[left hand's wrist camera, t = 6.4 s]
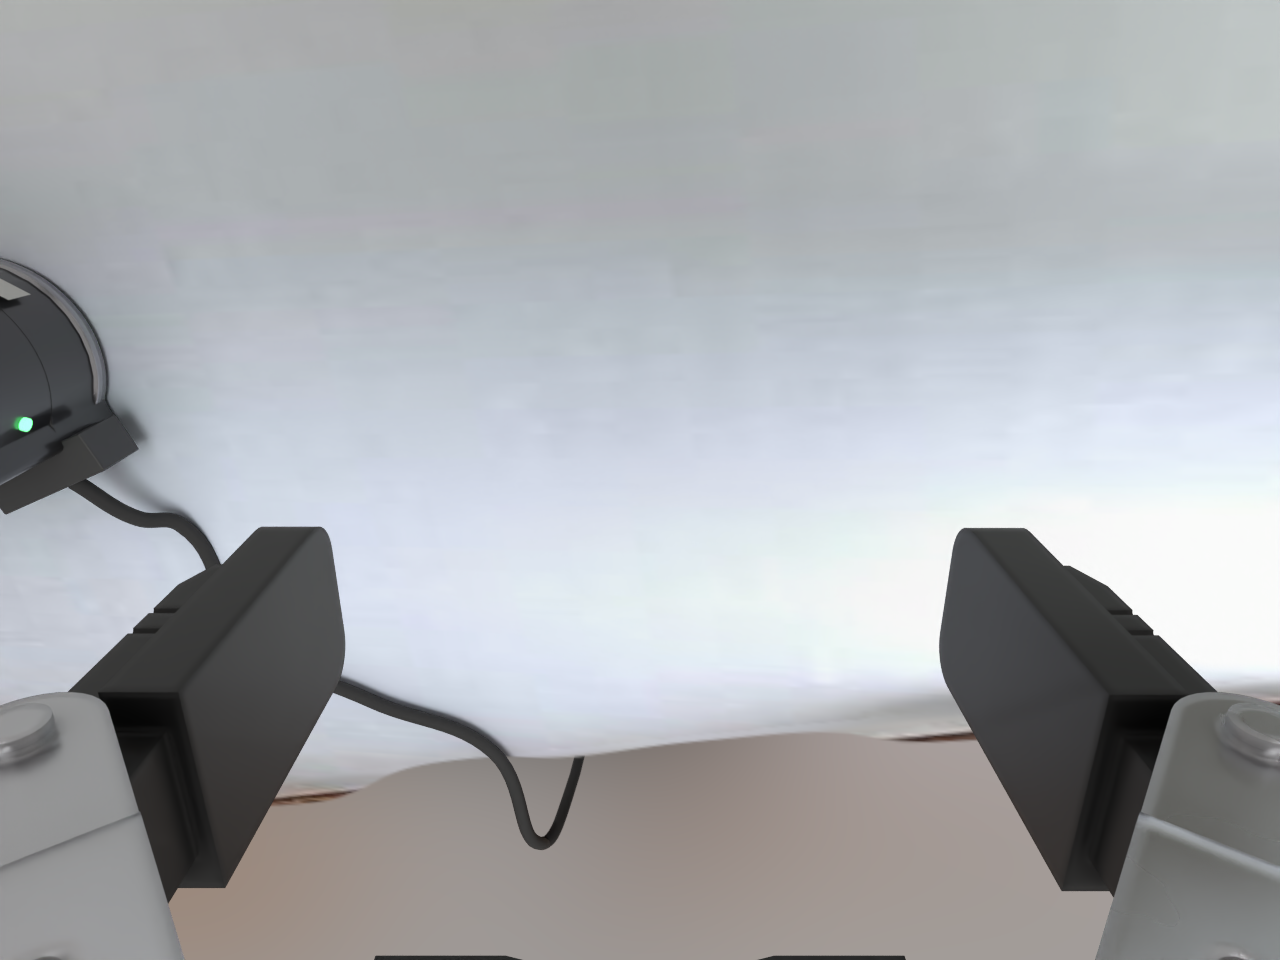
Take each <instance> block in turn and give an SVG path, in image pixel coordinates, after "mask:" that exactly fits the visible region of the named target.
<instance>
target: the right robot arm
mask: <svg viewBox="0 0 1280 960" xmlns="http://www.w3.org/2000/svg"><path fill="white" fill-rule="evenodd" d="M105 394H106V370H105V364H104V359H103V355H102V352H101V349H100V346H99V344H98V341H97V339H96V337H95V335H94V333H93V331H92V329H91V327H90V326H89V324H88V322H87V321H86V319H85V318H84V316H83V315H82V314H81V312H80V311H79V310H78V309H77V307H76V306H75V305H74V304H73V303H72V302H71V301H70V300H69V299H68V298H67V297H66V296H65V295H64V294H63V293H62V292H61V291H60V290H59V289H58V288H56V287H55V286H54V285H53V284H51V283H50V282H49V281H47V280H46V279H44V278H43V277H41V276H39V275H38V274H36V273H35V272H33V271H31V270H29V269H27V268H25V267H23V266H20V265H18V264H15V263H13V262H10V261H6V260H3V259H0V508H1V510H2V511H3V512H4V514H8V513H11V512H13V511H15V510H17V509H20V508H22V507H24V506H26V505H29V504H31V503H33V502H35V501H37V500H40V499H42V498H44V497H46V496H49V495H51V494H53V493H55V492H58V491H60V490H62V489H64V488H67V487H69V488H70V489H71V490H73V491H75V492H76V493H78V494H80V495H81V496H83V497H84V498H86V499H87V500H89V501H90V502H92V503H93V504H94V505H96V506H97V507H99V508H100V509H102V510H104V511H105V512H107V513H109V514H110V515H112V516H114V517H116V518H118V519H120V520H122V521H124V522H127V523H129V524H132V525H135V526H139V527H144V528H158V527H168V528H172V529H174V530H176V531H177V532H178V533H180V534H181V535H182V536H184V537H185V538H186V539H187V540H188V541H189V542H190V543H191V544H192V545H193V547H194V548H195V549H196V551H197V552H198V554H199V556H200V558H201V559H202V561H203V563H204V566H205V568H206V569H208V568H210V567H212V566H214V565H216V564H220V563H219V561H218V558H217V556H216V554H215V552H214V550H213V548H212V546H211V545H210V543H209V542H208V540H207V539H206V537H205V536H204V535H203V534H202V533H201V532H200V531H199V530H198V528H197V527H196V526H194V525H193V524H192V523H190V522H189V521H188V520H186V519H185V518H184V517H182V516H180V515H177V514H173V513H146V512H142V511H139V510H136V509H134V508H131V507H129V506H127V505H125V504H123V503H122V502H120V501H118V500H117V499H115V498H113V497H112V496H110V495H109V494H107V493H106V492H105V491H103V490H102V489H100V488H99V487H97V486H96V485H94V484H93V483H91V482H90V481H88V480H87V478H89V477H91V476H94V475H96V474H98V473H100V472H102V471H105V470H106V469H108V468H109V467H111V466H113V465H114V464H116V463H117V462H119V461H121V460H122V459H124V458H125V457H127V456H129V455H130V454H132V453H133V452H135V451H137V450H138V447H137V446H136V444H135V443H134V441H133V440H132V438H131V437H130V435H129V434H128V432H127V431H126V430H125V428H124V427H123V425H122V424H121V422H120V421H119V419H118V418H117V416H116V415H114V414H113V413H112V411H111V410H110V409H109V407H108V405H107V403H106V401H105ZM333 693H335V694H338V695H340V696H343V697H345V698H348V699H350V700H353V701H355V702H358V703H360V704H362V705H364V706H367V707H369V708H371V709H374V710H376V711H378V712H381V713H384V714H386V715H389V716H392V717H395V718H398V719H401V720H405V721H408V722H412V723H415V724H419V725H422V726H426V727H429V728H433V729H436V730H439V731H442V732H445V733H448V734H451V735H453V736H456V737H458V738H460V739H462V740H464V741H466V742H468V743H470V744H472V745H473V746H475V747H476V748H478V749H479V750H481V751H482V752H483V753H484V754H486V755H487V756H488V757H489V758H490V759H491V760H492V761H493V762H494V763H495V764H496V766H497V767H498V769H499V770H500V772H501V774H502V775H503V777H504V779H505V782H506V784H507V787H508V790H509V793H510V796H511V799H512V803H513V807H514V811H515V815H516V819H517V823H518V826H519V829H520V832H521V834H522V836H523V838H524V840H525V841H526V843H527V844H528V845H529V846H530V847H532V848H534V849H538V850H544V849H547V848H549V847H550V846H552V845H553V844H554V843H555V842H556V840H557V839H558V837H559V835H560V833H561V831H562V829H563V826H564V824H565V821H566V818H567V815H568V812H569V809H570V806H571V803H572V800H573V797H574V793H575V790H576V787H577V783H578V780H579V777H580V774H581V770H582V765H583V761H584V757H585V756H576V757H574V760H573V764H572V767H571V771H570V775H569V778H568V781H567V784H566V787H565V790H564V793H563V796H562V799H561V802H560V805H559V808H558V811H557V813H556V816H555V819H554V821H553V824H552V826H551V828H550V829H549V831H548V832H547V834H546V835H545V836H543V837H540V836H538V835H537V834H536V833H535V832H534V830H533V827H532V824H531V821H530V818H529V814H528V810H527V805H526V802H525V798H524V794H523V791H522V787H521V784H520V782H519V779H518V777H517V774H516V772H515V770H514V768H513V766H512V765H511V763H510V762H509V760H508V759H507V757H506V756H505V755H504V754H503V753H502V751H501V750H500V749H499V748H498V747H497V746H495V745H494V744H493V743H492V742H491V741H489V740H488V739H487V738H485V737H484V736H482V735H481V734H479V733H478V732H476V731H474V730H472V729H470V728H468V727H466V726H464V725H462V724H460V723H457V722H454V721H452V720H449V719H446V718H443V717H440V716H436V715H433V714H429V713H426V712H422V711H419V710H415V709H412V708H409V707H405V706H402V705H399V704H396V703H393V702H391V701H388V700H385V699H383V698H381V697H378V696H376V695H374V694H371V693H369V692H367V691H365V690H362V689H360V688H357V687H355V686H353V685H350V684H348V683H345V682H342V681H340V680H339V682H338V684H337V686H336V688H335V690H334V692H333Z"/></svg>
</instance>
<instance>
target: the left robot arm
mask: <svg viewBox="0 0 1280 960" xmlns="http://www.w3.org/2000/svg"><path fill="white" fill-rule="evenodd" d="M939 653H940V663H941V668H942V673H943V677H944V680H945V682H946V684H947V687H948V688H949V690H950V692H951V694H952V696H953V697H954V699H955V701H956V703H957V705H958V706H959V708H960V710H961V712H962V713H963V715H964V717H965V719H966V721H967V722H968V724H969V726H970V728H971V730H972V731H973V733H974V735H975V737H976V739H977V740H978V742H979V744H980V746H981V748H982V749H983V751H984V753H985V755H986V756H987V758H988V760H989V762H990V764H991V765H992V767H993V769H994V771H995V773H996V774H997V776H998V778H999V780H1000V781H1001V783H1002V785H1003V787H1004V789H1005V790H1006V792H1007V794H1008V796H1009V798H1010V799H1011V801H1012V803H1013V805H1014V806H1015V808H1016V810H1017V812H1018V814H1019V816H1020V817H1021V819H1022V821H1023V823H1024V824H1025V826H1026V828H1027V830H1028V832H1029V833H1030V835H1031V837H1032V839H1033V841H1034V842H1035V844H1036V846H1037V848H1038V849H1039V851H1040V853H1041V855H1042V857H1043V858H1044V860H1045V862H1046V864H1047V866H1048V867H1049V869H1050V871H1051V873H1052V875H1053V876H1054V878H1055V880H1056V882H1057V883H1058V885H1059V887H1060V889H1061V890H1062V891H1110V893H1111V894H1112V896H1113V897H1114V899H1113V902H1112V905H1111V909H1110V912H1109V915H1108V919H1107V922H1106V925H1105V929H1104V932H1103V935H1102V939H1101V942H1100V945H1099V949H1098V952H1097V955H1096V959H1095V960H1280V706H1279V705H1276V704H1274V703H1271V702H1268V701H1264V700H1261V699H1257V698H1253V697H1249V696H1244V695H1239V694H1231V693H1223V692H1217V691H1216V690H1215V689H1214V688H1213V687H1212V686H1211V685H1210V684H1209V683H1208V682H1207V681H1206V680H1204V679H1203V678H1202V677H1201V676H1200V675H1199V674H1198V673H1197V672H1196V671H1195V670H1194V669H1193V668H1192V667H1191V666H1190V665H1189V664H1188V663H1187V662H1186V661H1185V660H1184V659H1183V658H1182V657H1181V656H1180V655H1179V654H1177V653H1176V652H1175V651H1174V650H1173V649H1172V648H1171V647H1170V646H1169V645H1168V644H1167V643H1166V642H1165V641H1164V640H1163V639H1162V638H1161V637H1160V636H1159V635H1153V629H1151V628H1150V627H1149V626H1148V625H1147V624H1146V623H1145V622H1144V621H1143V620H1142V619H1141V618H1140V617H1139V616H1138V615H1133V614H1132V609H1131V608H1130V607H1129V606H1128V605H1127V604H1126V603H1124V602H1123V601H1122V600H1121V599H1120V598H1119V597H1118V596H1117V595H1116V594H1115V593H1114V592H1113V591H1112V590H1111V589H1110V588H1109V587H1108V586H1106V585H1104V584H1102V583H1101V582H1099V581H1097V580H1095V579H1093V578H1091V577H1089V576H1088V575H1086V574H1084V573H1082V572H1080V571H1078V570H1076V569H1075V568H1073V567H1071V566H1063V565H1062V564H1061V563H1060V562H1059V561H1058V560H1057V559H1056V558H1055V557H1054V556H1053V555H1052V554H1051V553H1050V552H1049V551H1048V550H1047V549H1046V548H1045V547H1044V546H1043V545H1042V544H1041V543H1040V542H1039V541H1038V540H1037V539H1036V538H1035V537H1034V536H1033V535H1032V534H1031V533H1030V532H1029V531H1028V530H1027V529H1025V528H963V529H962V530H961V531H960V532H959V533H958V535H957V537H956V539H955V542H954V546H953V552H952V558H951V565H950V571H949V578H948V585H947V591H946V598H945V604H944V611H943V618H942V624H941V631H940V640H939ZM344 658H345V633H344V626H343V619H342V612H341V606H340V599H339V592H338V586H337V579H336V572H335V565H334V559H333V552H332V546H331V542H330V538H329V536H328V534H327V532H326V530H325V529H324V528H322V527H260V528H258V529H257V530H256V531H255V532H254V533H253V534H252V535H251V536H250V537H249V538H248V539H247V540H246V541H245V542H244V543H243V544H242V545H241V546H240V547H239V548H238V549H237V550H236V551H235V552H234V553H233V554H232V555H231V556H230V557H229V558H228V559H227V560H226V561H225V562H224V563H223V564H216V565H214V566H212V567H210V568H208V569H206V570H205V571H203V572H201V573H199V574H197V575H195V576H193V577H192V578H190V579H188V580H186V581H184V582H182V583H180V584H179V585H177V586H176V587H175V588H174V589H173V590H172V591H171V592H170V593H169V594H168V595H167V596H166V597H165V598H164V599H163V600H162V601H161V602H160V603H159V604H158V605H157V606H156V607H155V608H154V613H149V614H148V615H147V616H145V617H144V618H143V619H142V620H141V621H140V622H139V623H138V624H137V625H136V626H135V627H134V628H133V634H127V635H126V636H125V637H124V638H123V639H122V640H121V641H120V642H119V643H118V644H117V645H116V646H115V647H114V648H113V649H111V650H110V651H109V652H108V653H107V654H106V655H105V656H104V657H103V658H102V659H101V660H100V661H99V662H98V663H97V664H96V665H95V666H94V667H93V668H92V669H91V670H90V671H89V672H88V673H87V674H86V675H85V676H84V677H83V678H82V679H81V680H80V681H79V682H78V683H76V684H75V685H74V686H73V687H72V688H71V689H70V690H69V691H68V692H57V693H49V694H41V695H36V696H31V697H27V698H23V699H19V700H16V701H12V702H9V703H6V704H4V705H1V706H0V960H185V959H184V955H183V952H182V949H181V946H180V942H179V939H178V936H177V932H176V929H175V925H174V922H173V919H172V915H171V912H170V909H169V905H168V903H169V901H170V900H171V898H172V896H173V895H174V893H175V892H176V890H177V888H225V887H226V885H227V884H228V882H229V880H230V878H231V876H232V875H233V873H234V871H235V869H236V867H237V866H238V864H239V862H240V860H241V858H242V856H243V855H244V853H245V851H246V849H247V847H248V846H249V844H250V842H251V840H252V838H253V837H254V835H255V833H256V831H257V829H258V827H259V826H260V824H261V822H262V820H263V818H264V817H265V815H266V813H267V811H268V809H269V808H270V806H271V804H272V802H273V800H274V798H275V797H276V795H277V793H278V791H279V789H280V788H281V786H282V784H283V782H284V780H285V779H286V777H287V775H288V773H289V771H290V770H291V768H292V766H293V764H294V762H295V760H296V759H297V757H298V755H299V753H300V751H301V750H302V748H303V746H304V744H305V742H306V741H307V739H308V737H309V735H310V733H311V731H312V730H313V728H314V726H315V724H316V722H317V721H318V719H319V717H320V715H321V713H322V712H323V710H324V708H325V706H326V704H327V702H328V701H329V699H330V697H331V695H332V693H333V692H334V690H335V688H336V686H337V684H338V682H339V680H340V677H341V673H342V670H343V664H344ZM374 960H521V959H517V958H512V957H508V956H375V959H374ZM759 960H906V959H905V956H772V957H768V958H764V959H759Z"/></svg>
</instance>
